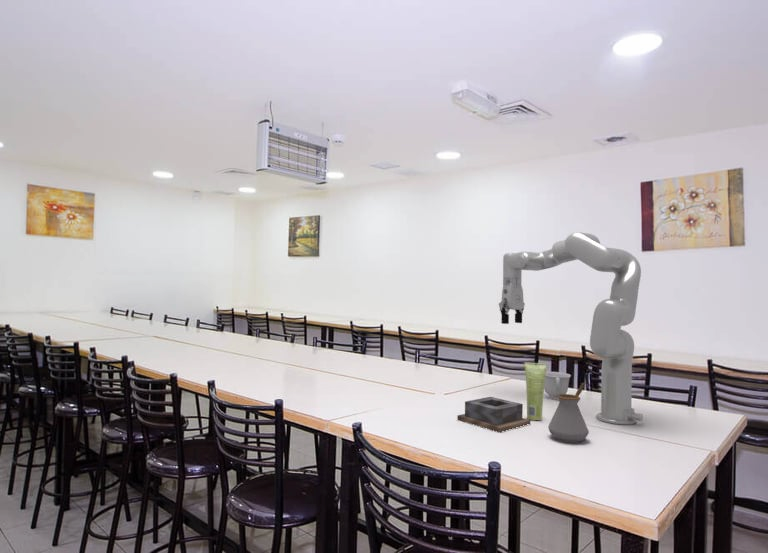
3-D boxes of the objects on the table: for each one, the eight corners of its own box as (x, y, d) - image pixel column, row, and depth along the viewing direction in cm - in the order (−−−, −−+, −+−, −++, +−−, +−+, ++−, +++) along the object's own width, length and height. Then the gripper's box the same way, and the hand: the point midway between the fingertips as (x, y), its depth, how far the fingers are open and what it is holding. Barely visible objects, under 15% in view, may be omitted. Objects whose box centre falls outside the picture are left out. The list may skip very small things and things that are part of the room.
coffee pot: (581, 447, 139) (582, 395, 140) (542, 439, 146) (542, 389, 147) (603, 431, 156) (603, 384, 156) (566, 424, 163) (567, 379, 163)
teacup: (542, 401, 196) (542, 376, 196) (539, 394, 210) (539, 371, 210) (573, 404, 193) (574, 378, 193) (568, 396, 207) (569, 372, 208)
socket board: (530, 424, 162) (530, 404, 162) (499, 432, 152) (500, 411, 152) (487, 413, 176) (488, 395, 177) (457, 419, 166) (457, 400, 167)
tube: (535, 416, 173) (535, 361, 173) (546, 420, 168) (547, 363, 169) (523, 418, 170) (524, 362, 170) (534, 422, 165) (535, 364, 166)
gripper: (507, 282, 196) (507, 324, 196) (531, 283, 208) (531, 323, 207) (492, 282, 202) (492, 323, 201) (516, 283, 213) (515, 322, 213)
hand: (511, 323), depth 204 cm, fingers open, 9 cm apart
